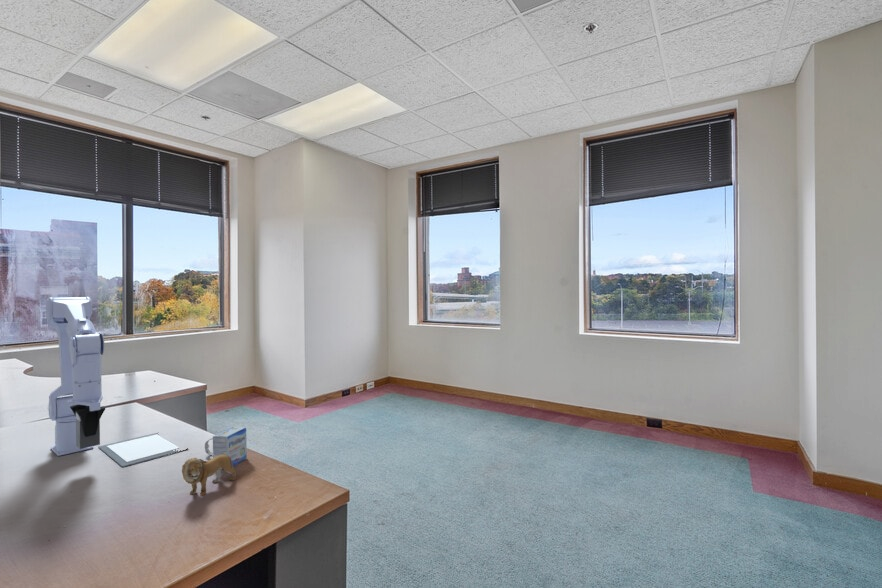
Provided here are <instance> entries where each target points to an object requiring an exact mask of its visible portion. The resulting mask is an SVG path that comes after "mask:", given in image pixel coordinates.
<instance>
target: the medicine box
mask: <svg viewBox="0 0 882 588" xmlns="http://www.w3.org/2000/svg"><path fill="white" fill-rule="evenodd" d="M212 438H213V439H212V453H213V456H212V459H213V458H215V457H216V456H218V455H223V454H224V455H228V456H229V457H230V458H231V460H232V464H233V467H235V466H236V465H238V464H239V463H241V462H242V461H245V460H246V459H247V456H248V455H247V453H248V452H247V428H246V427H242V426H232V427H230V428H228V429H226V430H223V431H221V432H219V433H217V434H215V435H213V436H212Z"/></svg>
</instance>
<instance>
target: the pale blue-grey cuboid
mask: <svg viewBox="0 0 882 588" xmlns="http://www.w3.org/2000/svg"><path fill="white" fill-rule="evenodd" d="M100 422H101V421H99V424H98V428H97V432H96V435H92V436H88V437H85V435H84V432H83V427H82V422H81V419H80V417H79V415H78V414H77V412H76V446H77V447H78V448H80V449H83V448H87V447H92V446H95V447H96V446H101V430H100V429H101V426H100V425H101V423H100Z"/></svg>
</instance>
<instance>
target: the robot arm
mask: <svg viewBox="0 0 882 588" xmlns="http://www.w3.org/2000/svg"><path fill="white" fill-rule="evenodd" d="M92 314H93V301H92V298H90V296H83V297H82V296H81V297H77V296H75V297H74V296H73V297H72V296H71V297H68V296H66V297H52V296H49V297H48V298H47V299H46V302H45V315H46V324H47V327H48V328H50V329H54V330H55V333H56V335H57V338H58V353H59V354H58V355H59V370H60V372H59V373H60V386H59V387H57V388H55V389H54V390H53V391H51V392H50V394H49V396H48V405H47V406H48V407H47V408H48V416H49V420H51V421H53V422H54V421H55V426H54V445H52V446H50V449H51V450H52V451H53V453H54V454H55V455H56V456H57V457H60V456H64V455H68V454H69V455H70V454H73V453H77V452H82V451H85V450H91V449H94V446H92V447H87V448H83V449H80V448H78V447H77V446H76V412H77V414H78V415H79V417H80V419H81V422H82V427H83V432H84V435H85V437H88V436H92V435H96V432H97V428H98V424H99V421H100V420H101V418H102V416H103V414H104V412H105V410H106V407H105V406H104V405H103V406H101V402H102V401H103V395H102V390H103V389H102V355H104V351H105V338H104V335H103V333H102V332H100V331H98V332H97V330H96V327H95V325H94V323H93V322H92V321H91V320H90V319H91V316H92ZM100 422H101V421H100Z"/></svg>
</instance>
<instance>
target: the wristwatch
mask: <svg viewBox="0 0 882 588" xmlns="http://www.w3.org/2000/svg"><path fill="white" fill-rule="evenodd" d="M211 440H213V437H211V438H209V439H208V440H207V441H205V443H204V451H205V453H206V454H207V455H208V456H210V455H212V457H213V451H210V449H209V448H210V444H209V442H210V441H211Z"/></svg>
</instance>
